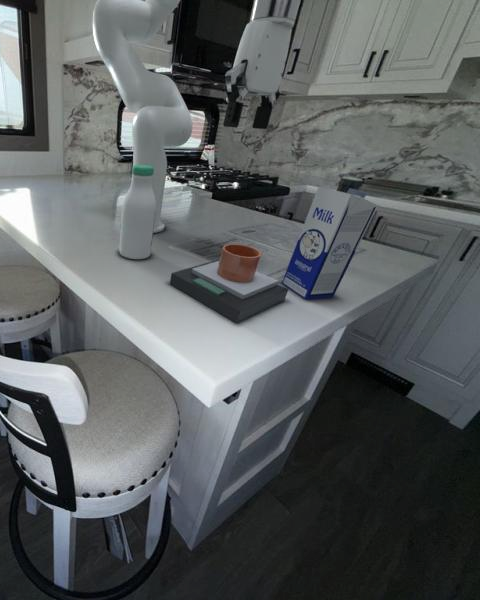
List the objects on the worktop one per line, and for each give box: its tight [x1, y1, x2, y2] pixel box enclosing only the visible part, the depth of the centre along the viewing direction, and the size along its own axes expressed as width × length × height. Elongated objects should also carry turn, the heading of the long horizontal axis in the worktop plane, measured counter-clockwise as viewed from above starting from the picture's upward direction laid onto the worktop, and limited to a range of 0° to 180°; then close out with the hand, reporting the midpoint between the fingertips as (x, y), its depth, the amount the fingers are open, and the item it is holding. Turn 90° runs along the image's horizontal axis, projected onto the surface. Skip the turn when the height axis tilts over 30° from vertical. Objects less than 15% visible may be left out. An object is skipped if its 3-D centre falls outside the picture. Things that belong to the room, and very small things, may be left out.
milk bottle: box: [118, 165, 156, 260], centre depth 70 cm, size 8×8×20 cm
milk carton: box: [281, 185, 379, 300], centre depth 58 cm, size 7×7×20 cm
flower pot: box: [217, 243, 262, 283], centre depth 58 cm, size 7×7×5 cm
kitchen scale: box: [169, 258, 290, 324], centre depth 59 cm, size 16×15×4 cm
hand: (245, 127), depth 63 cm, fingers open, 9 cm apart
